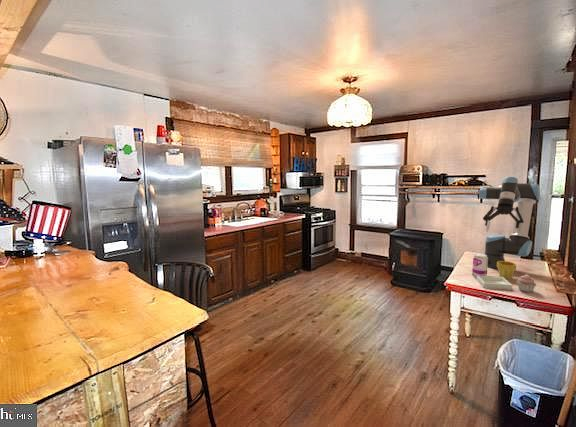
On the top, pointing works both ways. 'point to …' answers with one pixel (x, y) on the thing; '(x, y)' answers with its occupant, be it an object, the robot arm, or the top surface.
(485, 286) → the dish
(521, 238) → the robot arm
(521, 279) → the cupcake
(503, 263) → the plant pot
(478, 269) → the supplement can
